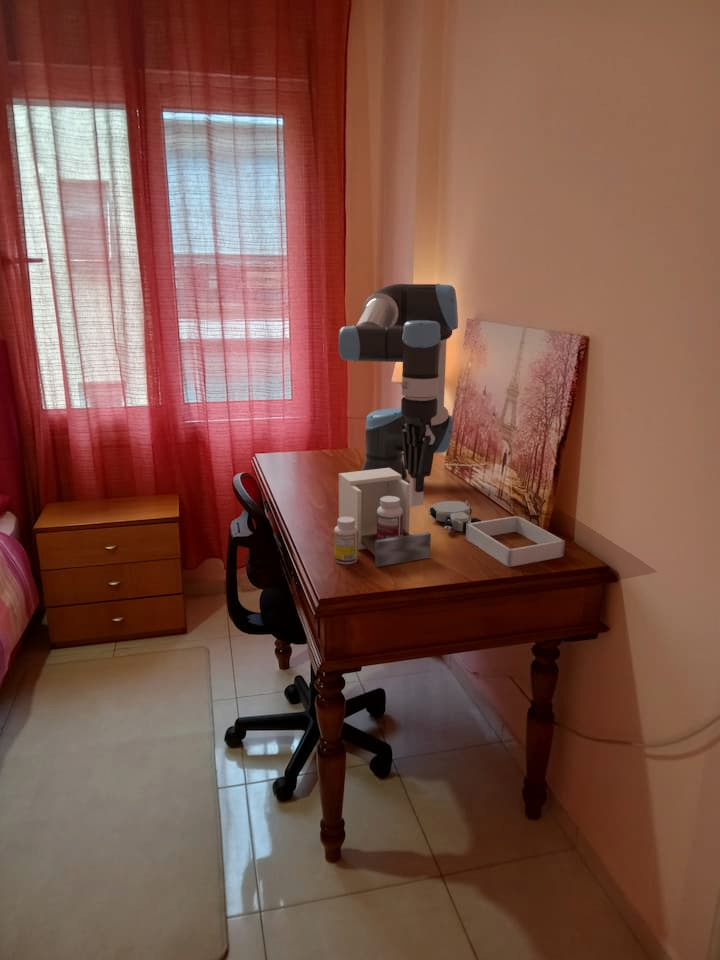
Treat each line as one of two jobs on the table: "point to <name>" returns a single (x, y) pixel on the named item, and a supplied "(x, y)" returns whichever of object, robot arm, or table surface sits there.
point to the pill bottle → (389, 518)
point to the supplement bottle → (346, 541)
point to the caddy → (371, 497)
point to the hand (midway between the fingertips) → (416, 504)
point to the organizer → (544, 549)
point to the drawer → (398, 548)
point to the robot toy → (452, 514)
